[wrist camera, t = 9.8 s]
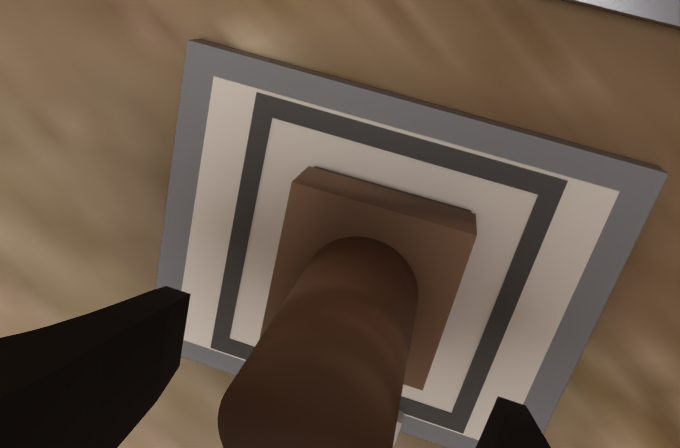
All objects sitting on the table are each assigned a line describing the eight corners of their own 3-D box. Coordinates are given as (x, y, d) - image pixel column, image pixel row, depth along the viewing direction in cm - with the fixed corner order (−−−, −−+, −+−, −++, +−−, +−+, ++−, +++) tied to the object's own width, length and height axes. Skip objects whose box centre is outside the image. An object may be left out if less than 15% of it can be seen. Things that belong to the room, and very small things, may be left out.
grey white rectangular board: (659, 166, 16) (679, 181, 14) (521, 457, 20) (525, 491, 19) (199, 39, 17) (174, 40, 16) (158, 333, 22) (136, 356, 20)
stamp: (475, 208, 17) (483, 369, 9) (427, 348, 18) (400, 580, 11) (312, 161, 17) (189, 276, 9) (282, 303, 19) (159, 492, 11)
